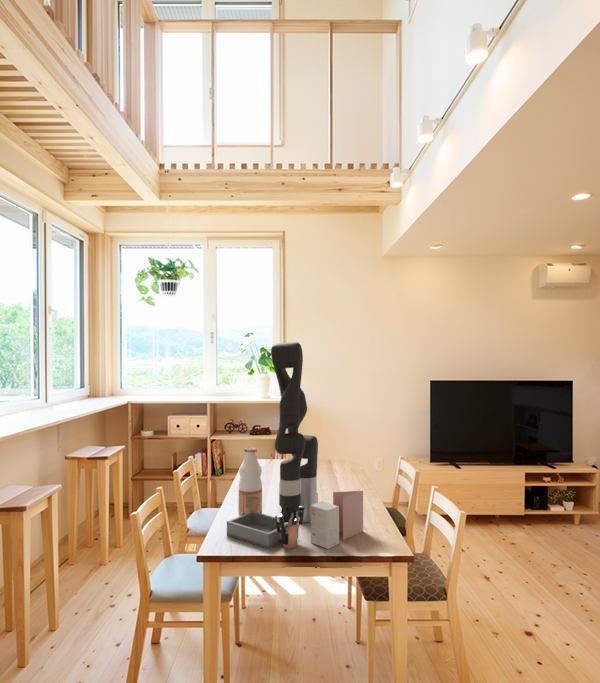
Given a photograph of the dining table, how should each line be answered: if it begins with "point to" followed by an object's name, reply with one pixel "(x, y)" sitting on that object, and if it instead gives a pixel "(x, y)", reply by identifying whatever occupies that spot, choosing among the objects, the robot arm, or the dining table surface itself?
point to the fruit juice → (250, 484)
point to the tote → (255, 529)
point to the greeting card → (349, 512)
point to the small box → (325, 524)
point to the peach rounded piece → (291, 536)
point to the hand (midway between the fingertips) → (290, 541)
